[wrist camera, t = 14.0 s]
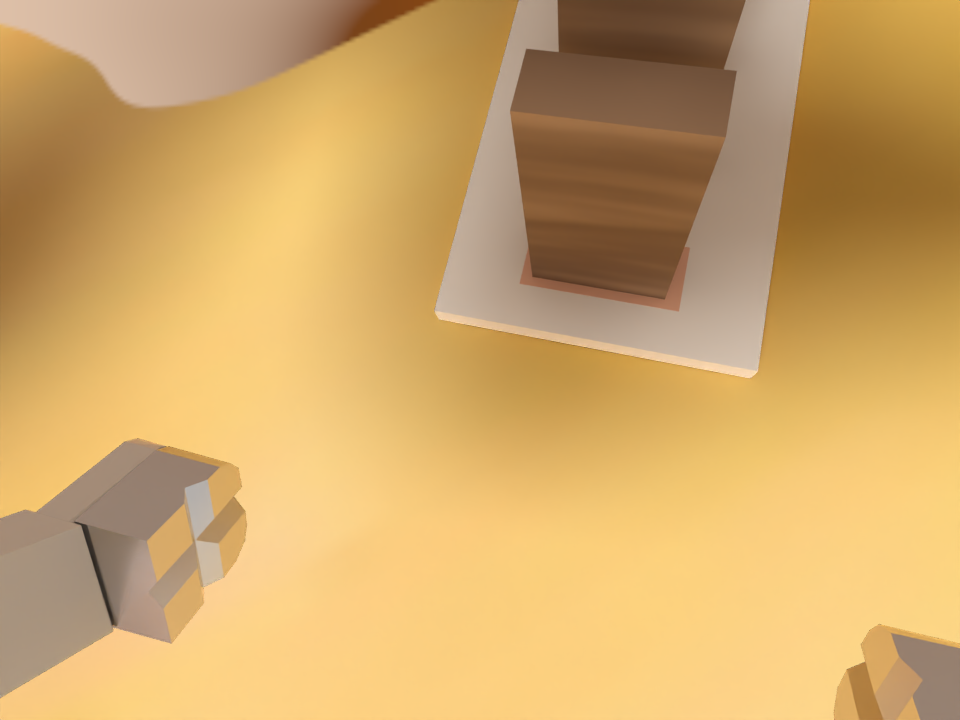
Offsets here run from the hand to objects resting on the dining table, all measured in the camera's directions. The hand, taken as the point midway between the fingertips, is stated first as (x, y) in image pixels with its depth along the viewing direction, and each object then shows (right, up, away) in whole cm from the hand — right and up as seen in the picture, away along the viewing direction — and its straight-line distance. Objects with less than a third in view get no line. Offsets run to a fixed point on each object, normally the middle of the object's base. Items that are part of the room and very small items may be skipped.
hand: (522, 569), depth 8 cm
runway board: (+7, +15, +20) cm, 26 cm away
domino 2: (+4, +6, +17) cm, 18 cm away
